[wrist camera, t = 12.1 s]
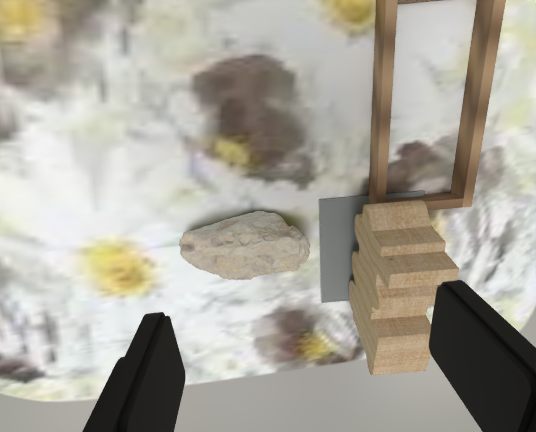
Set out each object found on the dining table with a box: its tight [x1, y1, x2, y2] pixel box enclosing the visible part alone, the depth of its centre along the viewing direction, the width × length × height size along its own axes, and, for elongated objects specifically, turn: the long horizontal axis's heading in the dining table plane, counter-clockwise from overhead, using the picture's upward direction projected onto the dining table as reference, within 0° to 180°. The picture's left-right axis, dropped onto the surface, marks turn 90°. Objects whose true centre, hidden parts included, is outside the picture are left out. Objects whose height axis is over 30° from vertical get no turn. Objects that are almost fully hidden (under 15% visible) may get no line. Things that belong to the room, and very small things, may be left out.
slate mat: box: [319, 191, 425, 303], centre depth 38 cm, size 14×12×1 cm
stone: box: [179, 211, 310, 280], centre depth 33 cm, size 8×12×10 cm, turn 91°
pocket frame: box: [369, 0, 506, 210], centre depth 31 cm, size 21×10×2 cm, turn 5°
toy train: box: [349, 200, 459, 375], centre depth 32 cm, size 6×17×10 cm, turn 5°
